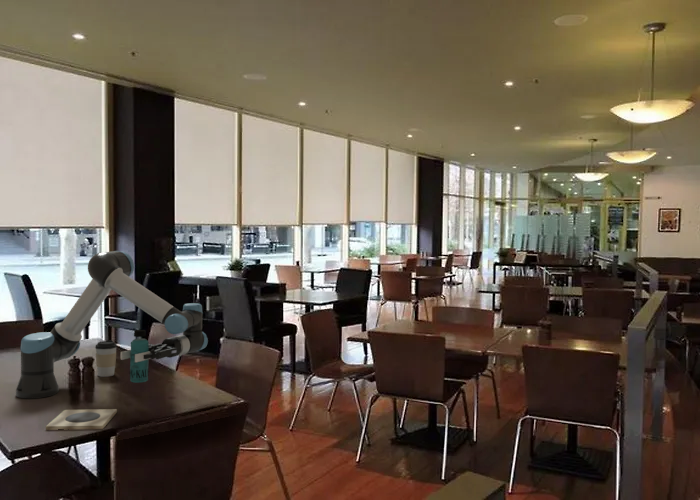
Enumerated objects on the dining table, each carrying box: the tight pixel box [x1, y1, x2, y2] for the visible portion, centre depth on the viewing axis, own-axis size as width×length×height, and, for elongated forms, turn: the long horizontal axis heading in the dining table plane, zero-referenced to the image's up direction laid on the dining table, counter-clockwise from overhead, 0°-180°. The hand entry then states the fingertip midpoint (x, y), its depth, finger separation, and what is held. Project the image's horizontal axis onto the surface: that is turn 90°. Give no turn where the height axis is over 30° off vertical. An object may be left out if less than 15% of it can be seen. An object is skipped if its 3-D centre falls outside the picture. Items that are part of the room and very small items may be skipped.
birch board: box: [45, 408, 118, 431], centre depth 212 cm, size 18×18×1 cm
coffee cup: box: [94, 339, 118, 378], centre depth 275 cm, size 9×9×15 cm
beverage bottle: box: [129, 329, 150, 383], centre depth 223 cm, size 6×7×20 cm
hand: (128, 357), depth 219 cm, fingers closed on beverage bottle, 6 cm apart
